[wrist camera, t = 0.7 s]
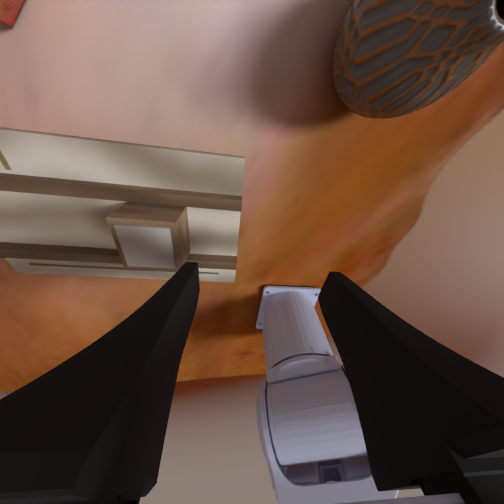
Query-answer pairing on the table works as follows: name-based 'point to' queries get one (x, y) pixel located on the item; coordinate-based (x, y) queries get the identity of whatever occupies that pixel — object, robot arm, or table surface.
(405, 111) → the vase
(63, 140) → the birch board
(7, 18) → the cracker box
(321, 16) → the table surface
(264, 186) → the table surface
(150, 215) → the block
